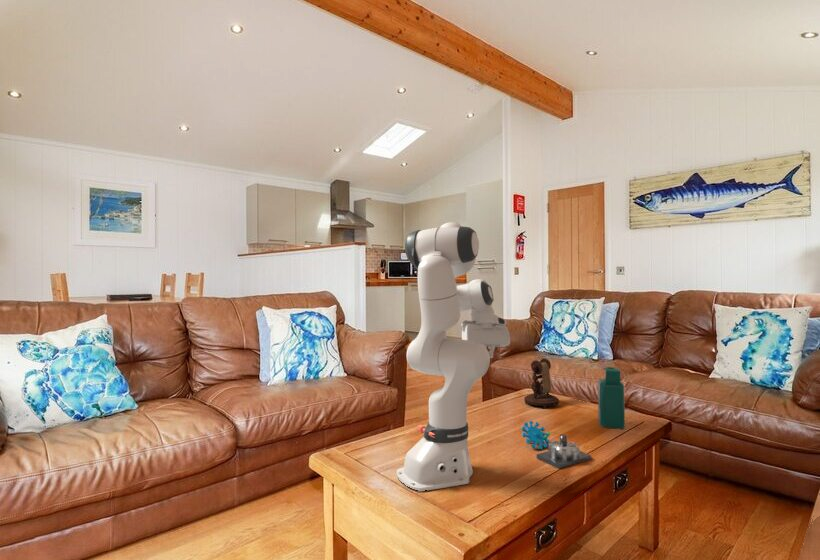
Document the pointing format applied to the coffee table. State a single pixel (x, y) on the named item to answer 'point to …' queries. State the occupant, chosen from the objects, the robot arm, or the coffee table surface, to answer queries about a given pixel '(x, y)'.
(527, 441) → the gear
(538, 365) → the dark brown figurine
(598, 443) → the coffee table surface
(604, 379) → the green bottle
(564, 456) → the grey metal fixture
